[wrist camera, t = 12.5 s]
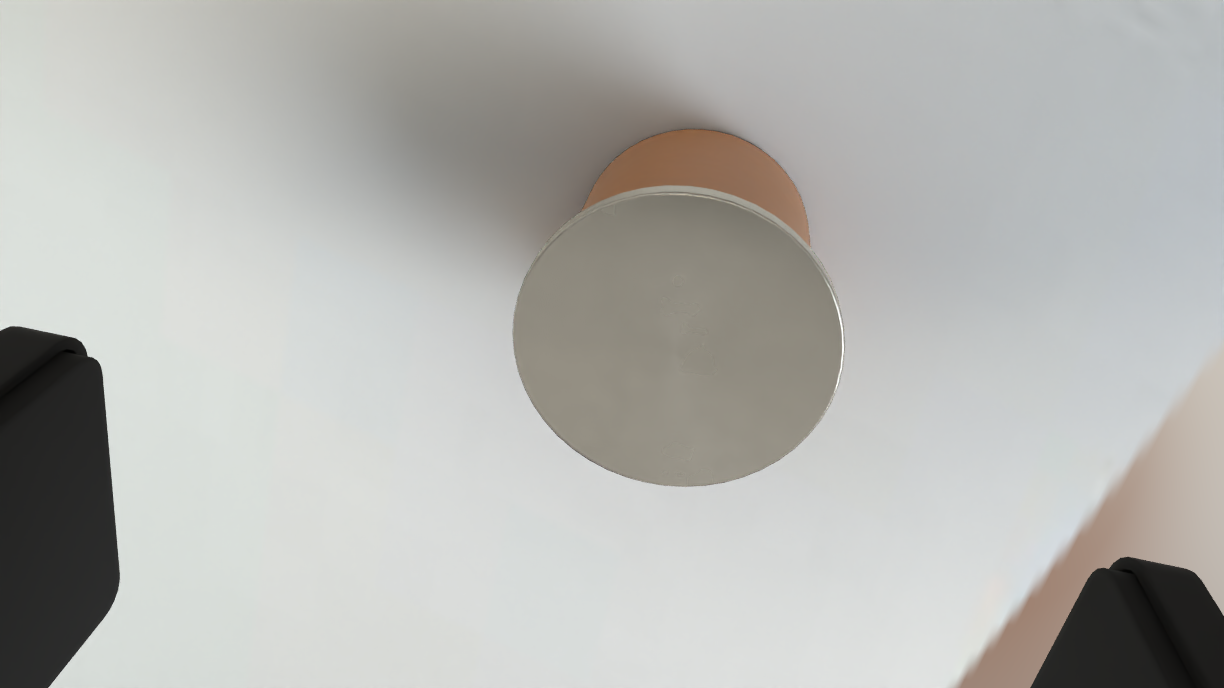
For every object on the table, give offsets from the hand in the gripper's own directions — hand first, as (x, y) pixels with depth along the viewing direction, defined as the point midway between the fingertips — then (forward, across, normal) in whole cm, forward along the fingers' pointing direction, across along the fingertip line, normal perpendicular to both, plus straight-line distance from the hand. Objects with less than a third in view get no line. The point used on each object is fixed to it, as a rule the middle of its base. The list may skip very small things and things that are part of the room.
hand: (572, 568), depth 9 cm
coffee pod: (+8, -1, 0) cm, 8 cm away
